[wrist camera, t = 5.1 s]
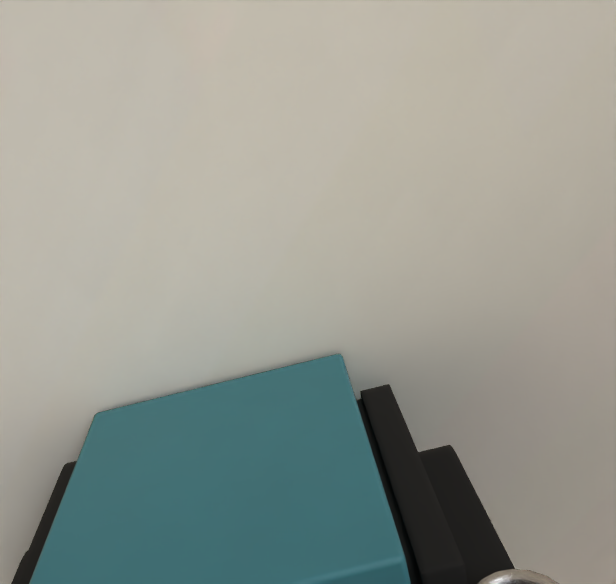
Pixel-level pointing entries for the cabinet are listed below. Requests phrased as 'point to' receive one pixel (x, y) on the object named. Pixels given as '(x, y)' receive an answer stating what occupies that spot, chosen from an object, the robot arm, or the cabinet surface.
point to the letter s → (229, 489)
